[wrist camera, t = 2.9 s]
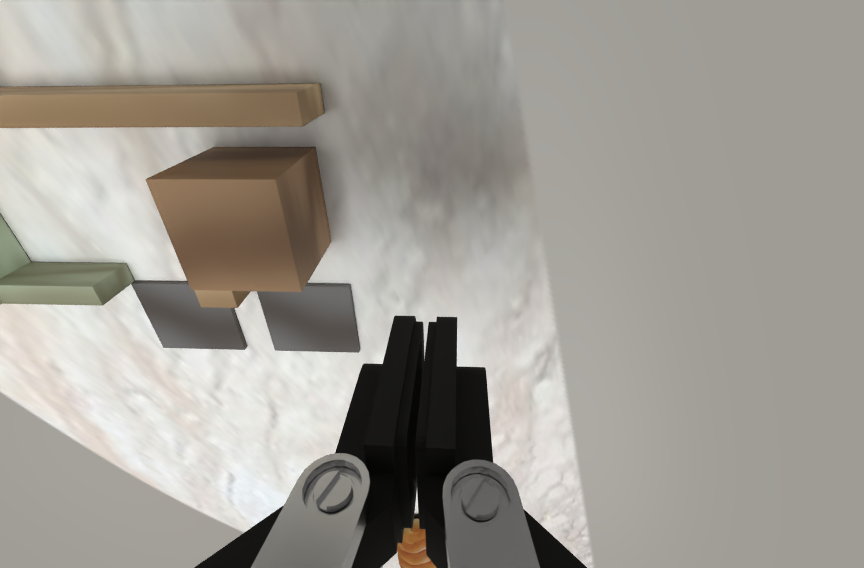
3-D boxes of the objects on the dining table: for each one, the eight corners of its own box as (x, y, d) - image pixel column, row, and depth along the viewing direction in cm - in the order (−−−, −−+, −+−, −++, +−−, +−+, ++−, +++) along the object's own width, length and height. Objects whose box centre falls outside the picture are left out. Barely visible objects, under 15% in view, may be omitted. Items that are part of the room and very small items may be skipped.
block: (214, 146, 19) (145, 179, 15) (316, 146, 19) (275, 179, 15) (242, 240, 22) (191, 290, 17) (331, 240, 21) (301, 291, 17)
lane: (-106, 88, 18) (-197, 96, 16) (319, 83, 17) (296, 92, 15) (66, 342, 26) (25, 374, 24) (360, 349, 25) (349, 384, 23)
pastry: (380, 515, 37) (373, 561, 34) (448, 504, 36) (448, 551, 32) (417, 560, 42) (414, 604, 38) (478, 552, 40) (480, 598, 37)
